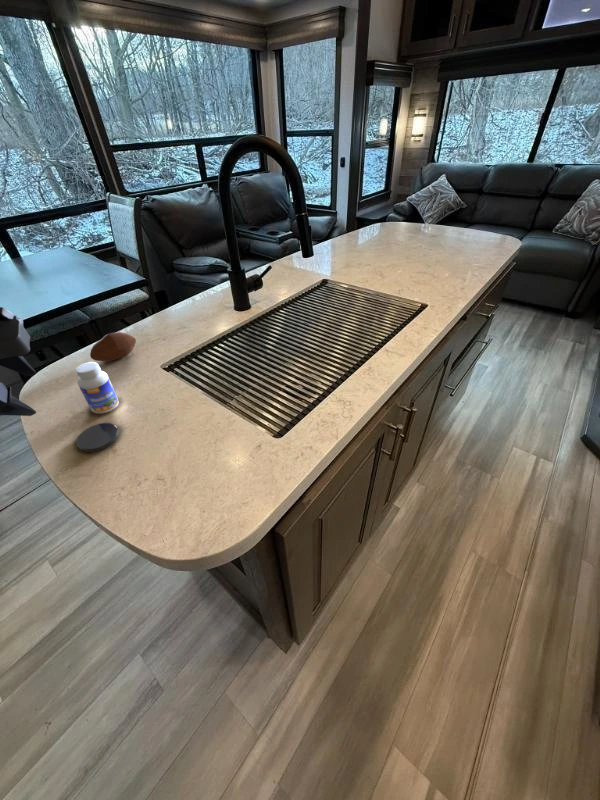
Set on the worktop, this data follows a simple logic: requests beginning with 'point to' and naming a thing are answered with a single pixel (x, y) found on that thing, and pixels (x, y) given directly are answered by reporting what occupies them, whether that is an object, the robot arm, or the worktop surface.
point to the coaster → (97, 437)
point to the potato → (113, 347)
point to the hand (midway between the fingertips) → (33, 393)
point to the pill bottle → (96, 388)
